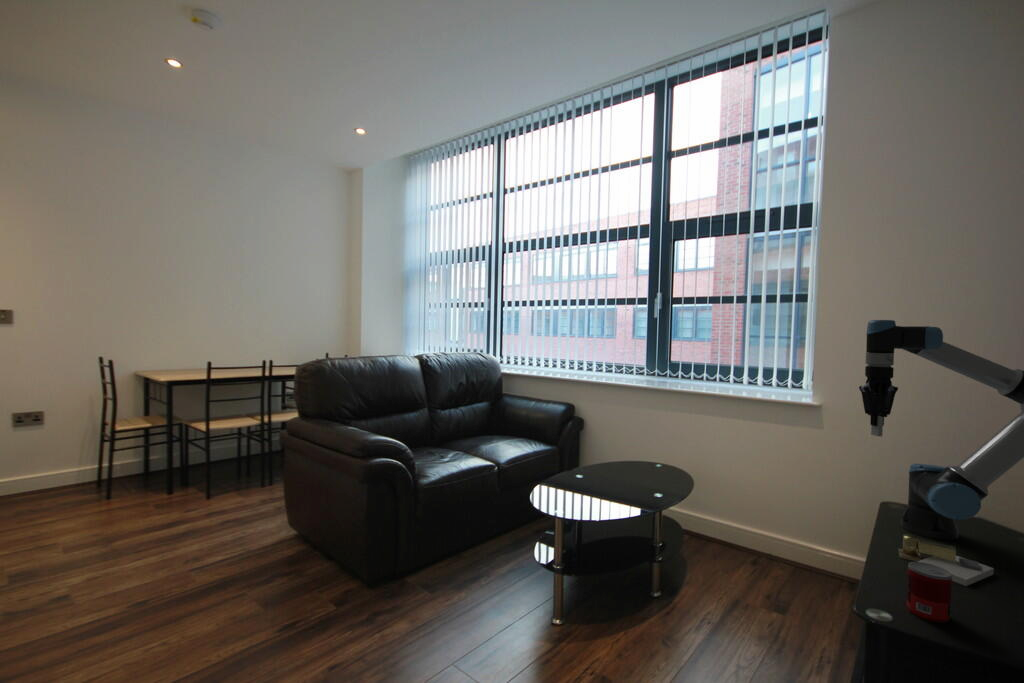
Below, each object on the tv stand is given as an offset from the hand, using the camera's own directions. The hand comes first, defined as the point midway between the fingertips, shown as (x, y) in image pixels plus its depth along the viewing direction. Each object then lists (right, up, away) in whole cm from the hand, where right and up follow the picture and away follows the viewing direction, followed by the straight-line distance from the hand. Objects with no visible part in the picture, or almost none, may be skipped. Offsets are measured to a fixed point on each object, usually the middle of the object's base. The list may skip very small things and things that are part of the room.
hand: (876, 435), depth 160 cm
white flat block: (+5, -35, -23) cm, 42 cm away
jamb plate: (-2, -34, -15) cm, 37 cm away
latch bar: (+2, -33, -18) cm, 38 cm away
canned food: (-23, -34, -45) cm, 61 cm away
